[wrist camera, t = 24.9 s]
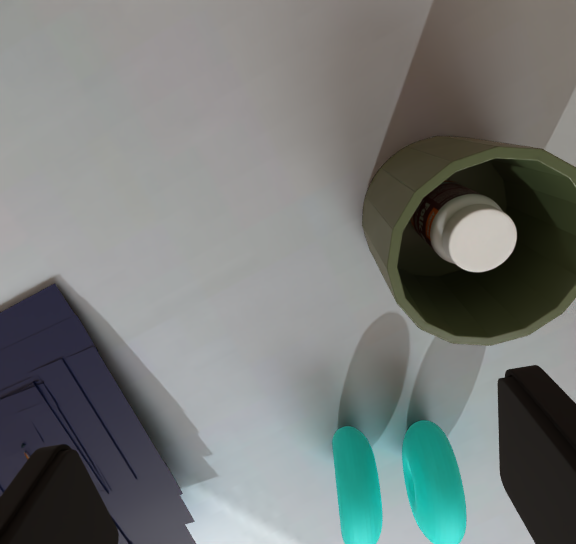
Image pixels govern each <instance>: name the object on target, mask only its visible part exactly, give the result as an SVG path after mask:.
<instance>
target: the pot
mask: <svg viewBox="0 0 576 544" xmlns="http://www.w3.org/2000/svg"><path fill="white" fill-rule="evenodd" d="M445 180H448V181H453V182H456V183H458V184H460V185H462V186H464V187H466V188H469V189H471V190H473V191H475V192H477V193H480V194H482V195H485V196H487V197H488V198H490V199H492V200H493V201H494V202H496V203H497V204H498V205H499V207H500V208H501V209H502V211H503V212H504V213H506V214H507V215H508V216H509V217H510V218H511V219H512V221H513V222H514V224H515V227H516V231H517V240H516V244H515V247H514V250H513V252H512V253H511V254H510V256H509V257H508V258H507V259H506V260H505V261H504V262H503V263H502V264H501V265H499V266H497V267H496V268H494V269H491V270H488V271H484V272H470V271H467V270H464V269H462V268H460V267H459V266H457V265H456V264H453V263H450V262H447V261H446V260H444V259H442V258H441V257H440V256H439V255H438V254H437V253H436V252H435V251H434V250H433V249H432V248H431V247H430V246H429V245H428V244H427V243H426V242H425V240H424V239H423V238H422V237H421V236H420V235H419V234H418V233H417V232H416V231H415V230H414V228H413V226H412V225H411V222H410V219H411V217H412V216H413V214H414V212H415V211H416V209H417V207H418V206H419V204H420V202H421V201H422V199H423V198H424V197H425V196H426V195H427V194H429V193H430V192H431V191H432V190H434V189H435V188H436V187H437V186H439V185H440V184H441V183H442V182H444V181H445ZM362 220H363V221H362V226H363V229H364V233H365V237H366V240H367V243H368V246H369V249H370V251H371V253H372V255H373V257H374V259H375V261H376V263H377V265H378V267H379V269H380V271H381V273H382V275H383V277H384V279H385V281H386V283H387V285H388V287H389V289H390V291H391V293H392V295H393V297H394V299H395V301H396V302H397V304H398V305H399V306H400V307H401V309H402V310H403V311H404V312H405V313H406V314H407V315H408V316H409V318H410V319H411V320H412V321H413V322H414V323H415V324H416V326H417V327H418V328H420V329H421V330H423V331H426V332H428V333H430V334H432V335H434V336H437V337H439V338H441V339H443V340H445V341H448V342H450V343H453V344H469V345H485V346H489V345H490V346H491V345H495V344H498V343H502V342H506V341H509V340H513V339H517V338H520V337H524V336H528V335H530V334H531V333H533V332H534V331H536V330H537V329H539V328H541V327H542V326H544V325H545V324H547V323H548V322H550V321H551V320H553V319H555V318H556V317H558V316H559V315H561V314H562V313H563V312H564V311H565V310H566V309H567V308H568V306H569V305H570V304H571V303H572V302H573V300H574V299H575V298H576V167H574V166H572V165H571V164H569V163H567V162H565V161H563V160H562V159H560V158H558V157H556V156H554V155H552V154H551V153H549V152H547V151H545V150H543V149H540V148H533V147H527V146H520V145H513V144H507V143H500V142H494V141H487V140H480V139H474V138H466V137H451V136H435V137H432V138H427V139H424V140H420V141H418V142H415V143H413V144H410V145H408V146H406V147H405V148H403V149H401V150H400V151H399V152H397V153H396V154H395V155H393V156H392V157H391V158H390V159H389V160H388V161H387V162H386V163H385V164H384V165H383V166H382V167H381V168H380V170H379V171H378V172H377V174H376V175H375V177H374V178H373V180H372V182H371V184H370V186H369V188H368V190H367V193H366V196H365V200H364V205H363V215H362Z"/></svg>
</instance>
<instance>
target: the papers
mask: <svg viewBox="0 0 576 544" xmlns="http://www.w3.org/2000/svg"><path fill="white" fill-rule="evenodd" d="M60 444H67V445H68V446H70V448H71V449H74V450H76V451H77V452H78V454H79V456H80V458H81V460H82V462H83V464H84V465H85V467H86V469H87V471H88V473H89V475H90V477H91V479H92V481H93V483H94V485H95V487H96V489H97V490H98V492H99V494H100V496H101V498H102V500H103V502H104V504H105V506H106V508H107V510H108V512H109V514H110V515H111V517H112V519H113V521H114V523H115V525H116V527H117V529H118V534H119V541H118V544H196V543H195V541H194V539H193V538H192V536H191V534H190V532H189V531H188V529H187V527H186V526H185V524H188V523H191V522H195V521H194V519H193V518H192V516H191V514H190V512H189V511H188V509H187V507H186V505H185V504H184V502H183V500H182V499H181V497H180V495H181V494H183V493H182V491H181V490H180V488H179V486H178V484H177V482H176V481H175V479H174V477H173V475H172V474H171V472H170V470H169V468H168V467H167V465H166V463H165V462H164V461H163V460H162V458H161V456H160V455H159V453H158V451H157V450H156V448H155V446H154V445H153V443H152V441H151V440H150V438H149V436H148V435H147V433H146V431H145V430H144V428H143V426H142V425H141V423H140V421H139V420H138V418H137V416H136V415H135V413H134V411H133V410H132V408H131V406H130V405H129V403H128V402H127V400H126V398H125V397H124V395H123V393H122V392H121V390H120V388H119V387H118V385H117V383H116V382H115V380H114V378H113V377H112V375H111V373H110V372H109V370H108V368H107V367H106V365H105V363H104V362H103V360H102V358H101V357H100V355H99V353H98V350H97V348H96V347H95V345H94V343H93V342H92V340H91V338H90V337H89V335H88V333H87V332H86V330H85V328H84V327H83V325H82V323H81V321H80V320H79V318H78V316H77V315H75V314H74V312H73V311H72V309H71V308H70V306H69V305H68V303H67V301H66V300H65V298H64V297H63V295H62V294H61V292H60V291H59V289H58V288H57V286H56V285H55V284H53V285H51V286H49V287H47V288H45V289H43V290H42V291H40V292H38V293H36V294H34V295H32V296H30V297H29V298H27V299H25V300H23V301H21V302H19V303H17V304H15V305H14V306H12V307H10V308H8V309H6V310H4V311H2V312H1V313H0V497H1V495H2V494H3V493H4V491H5V490H6V489H7V487H8V486H9V485H10V483H11V482H12V481H13V479H14V478H15V477H16V475H17V474H18V472H19V471H20V470H21V468H22V467H23V466H24V464H25V463H26V462H27V460H28V459H29V458H30V456H31V455H32V454H33V453H34V452H35V451H36V450H37V449H39V448H42V447H48V446H54V445H60Z"/></svg>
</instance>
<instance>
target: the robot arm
mask: <svg viewBox="0 0 576 544" xmlns="http://www.w3.org/2000/svg"><path fill="white" fill-rule="evenodd" d="M498 417H499V459H500V476H501V480H502V483H503V486H504V488H505V490H506V492H507V494H508V496H509V498H510V499H511V501H512V503H513V505H514V506H515V508H516V510H517V512H518V514H519V515H520V517H521V519H522V521H523V522H524V524H525V526H526V528H527V529H528V531H529V533H530V535H531V537H532V538H533V540H534V542H535V544H576V404H575V402H574V401H573V400H572V399H571V398H570V397H569V396H568V395H567V394H566V393H565V392H564V391H563V390H562V389H561V388H560V387H559V386H558V385H557V384H556V383H555V382H554V381H553V380H552V379H551V378H550V377H549V376H548V375H547V374H546V373H545V371H544V370H543V369H541V368H540V367H539V366H537V365H533V366H527V367H521V368H515V369H509V370H507V371H506V373H505V378H500V379H499V380H498ZM118 541H119V534H118V529H117V527H116V525H115V523H114V521H113V519H112V517H111V515H110V514H109V512H108V510H107V508H106V506H105V504H104V502H103V500H102V498H101V496H100V494H99V492H98V490H97V489H96V487H95V485H94V483H93V481H92V479H91V477H90V475H89V473H88V471H87V469H86V467H85V465H84V464H83V462H82V460H81V458H80V456H79V454H78V452H77V451H76V450H74V449H71V448H70V446H68V445H67V444H60V445H54V446H48V447H42V448H39V449H37V450H36V451H35V452H34V453H33V454H32V455H31V456H30V458H29V459H28V460H27V462H26V463H25V464H24V466H23V467H22V468H21V470H20V471H19V472H18V474H17V475H16V477H15V478H14V479H13V481H12V482H11V483H10V485H9V486H8V487H7V489H6V490H5V491H4V493H3V494H2V495H1V497H0V544H118Z"/></svg>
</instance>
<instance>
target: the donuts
mask: <svg viewBox="0 0 576 544" xmlns="http://www.w3.org/2000/svg"><path fill="white" fill-rule="evenodd" d="M332 445H333V456H334V466H335V476H336V486H337V495H338V504H339V515H340V523H341V533H342V538H343V540H344V542H345V544H376V543H377V541H378V539H379V536H380V533H381V529H382V502H381V493H380V486H379V479H378V473H377V467H376V462H375V458H374V454H373V451H372V448H371V446H370V443H369V441H368V440H367V438H366V437H365V436H364V434H363V433H362V432H360V431H359V430H358V429H356V428H354V427H351V426H344V427H342V428H340V429H338V430H337V431H336V432H335V434H334V436H333V440H332ZM402 461H403V471H404V478H405V484H406V489H407V494H408V498H409V502H410V506H411V509H412V512H413V515H414V518H415V520H416V522H417V524H418V526H419V528H420V529H421V531H422V532H423V534H424V535H425V536H426V537H427V538H428V539H429V540H430V541H431V542H432V543H434V544H459V543H460V542H461V540H462V538H463V536H464V534H465V529H466V503H465V495H464V490H463V485H462V480H461V475H460V472H459V468H458V464H457V461H456V458H455V455H454V452H453V450H452V447H451V445H450V442H449V440H448V438H447V437H446V435H445V433H444V432H443V431H442V429H441V428H440V427H439V426H437V425H436V424H435V423H433V422H431V421H427V420H420V421H417V422H415V423H414V424H412V425H411V426H410V427H409V429H408V430H407V432H406V434H405V437H404V440H403V447H402Z"/></svg>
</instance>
